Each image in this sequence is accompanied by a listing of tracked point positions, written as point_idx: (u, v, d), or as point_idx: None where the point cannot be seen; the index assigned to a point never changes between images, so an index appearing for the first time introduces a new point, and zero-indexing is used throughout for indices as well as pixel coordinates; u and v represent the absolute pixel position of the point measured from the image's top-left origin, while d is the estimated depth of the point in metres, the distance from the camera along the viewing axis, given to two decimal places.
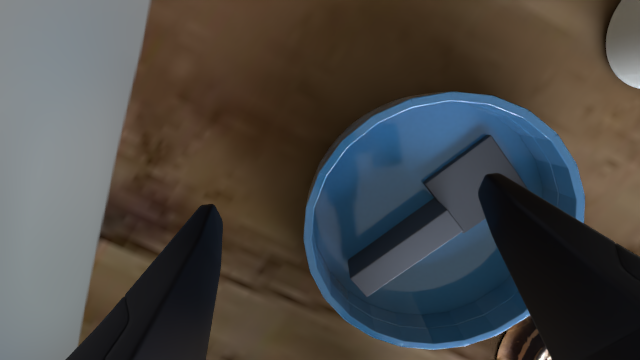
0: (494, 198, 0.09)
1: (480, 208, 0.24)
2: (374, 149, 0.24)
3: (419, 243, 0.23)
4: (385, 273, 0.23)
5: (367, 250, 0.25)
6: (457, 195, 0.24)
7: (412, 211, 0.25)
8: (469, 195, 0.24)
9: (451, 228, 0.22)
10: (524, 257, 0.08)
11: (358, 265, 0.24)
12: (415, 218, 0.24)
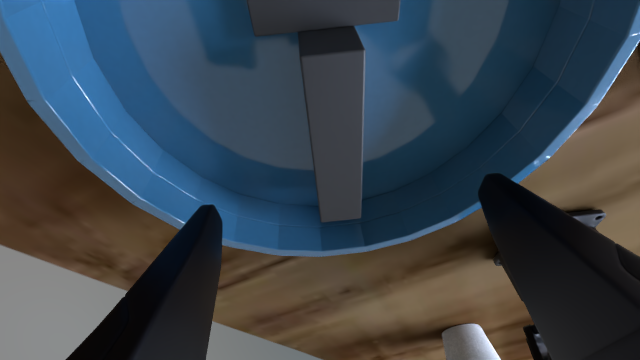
0: (494, 198, 0.09)
1: None
2: (156, 77, 0.13)
3: (334, 131, 0.12)
4: (345, 190, 0.14)
5: None
6: None
7: (301, 77, 0.13)
8: None
9: (343, 70, 0.10)
10: (524, 257, 0.08)
11: None
12: None
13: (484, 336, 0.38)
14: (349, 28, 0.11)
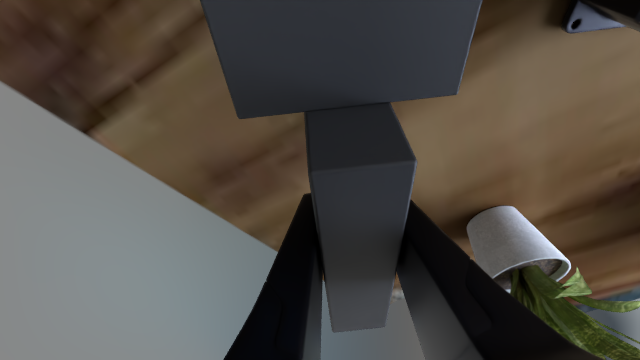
0: None
1: None
2: None
3: (357, 253, 0.08)
4: (368, 305, 0.11)
5: None
6: (330, 50, 0.06)
7: None
8: (360, 8, 0.06)
9: (378, 189, 0.06)
10: (405, 270, 0.08)
11: None
12: None
13: (526, 219, 0.28)
14: (383, 107, 0.07)
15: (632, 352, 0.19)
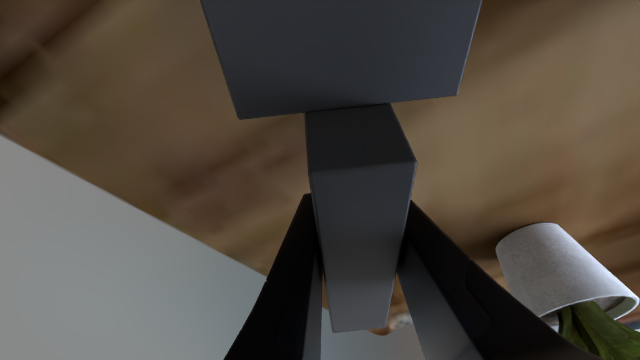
0: None
1: None
2: None
3: (357, 253, 0.08)
4: (368, 305, 0.11)
5: None
6: (330, 51, 0.06)
7: None
8: (360, 9, 0.06)
9: (378, 189, 0.06)
10: (405, 270, 0.08)
11: None
12: None
13: None
14: (383, 108, 0.07)
15: None
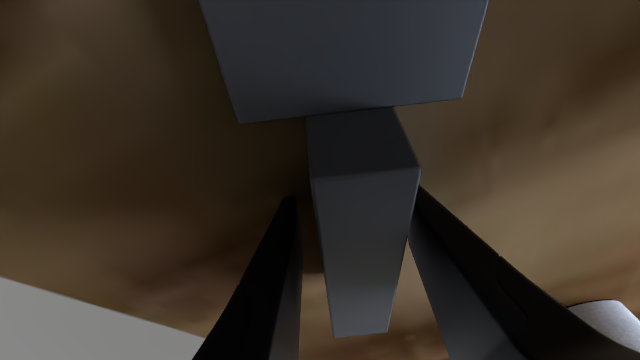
0: None
1: None
2: None
3: (359, 259, 0.08)
4: (369, 311, 0.10)
5: None
6: (332, 54, 0.06)
7: None
8: (363, 11, 0.06)
9: (382, 195, 0.06)
10: (429, 267, 0.08)
11: None
12: None
13: None
14: (386, 111, 0.07)
15: None
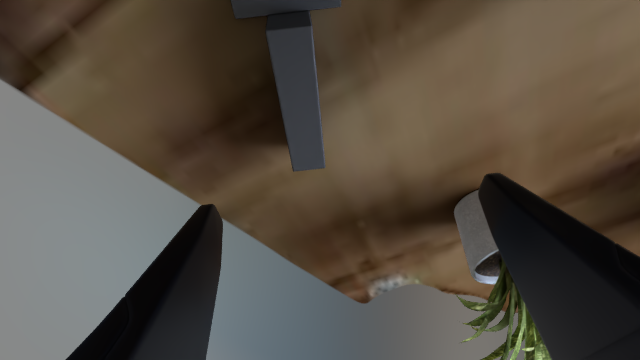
0: (494, 198, 0.09)
1: None
2: None
3: (295, 89, 0.16)
4: (309, 141, 0.19)
5: None
6: None
7: None
8: None
9: (297, 41, 0.14)
10: (524, 257, 0.08)
11: None
12: None
13: None
14: (304, 12, 0.15)
15: None
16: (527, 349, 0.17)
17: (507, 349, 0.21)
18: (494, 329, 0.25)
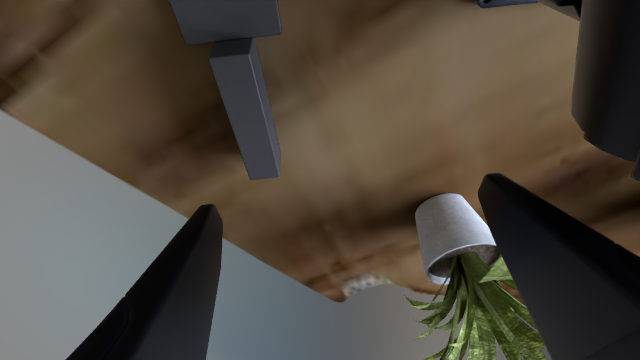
0: (494, 198, 0.09)
1: None
2: None
3: (242, 108, 0.18)
4: (261, 153, 0.20)
5: None
6: (219, 12, 0.16)
7: None
8: None
9: (238, 67, 0.16)
10: (524, 257, 0.08)
11: None
12: None
13: (470, 207, 0.28)
14: (248, 39, 0.17)
15: None
16: (453, 344, 0.18)
17: (450, 345, 0.23)
18: (446, 327, 0.27)
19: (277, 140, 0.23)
